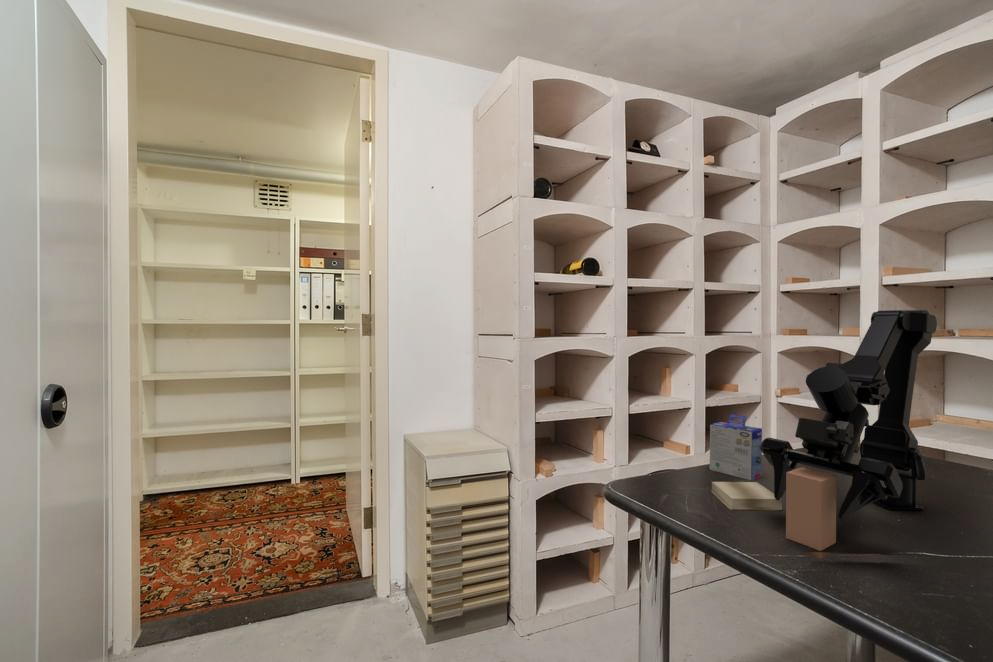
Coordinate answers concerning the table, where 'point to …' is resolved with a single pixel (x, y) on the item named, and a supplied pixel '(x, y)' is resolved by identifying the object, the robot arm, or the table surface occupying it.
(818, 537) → the column
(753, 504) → the top slab
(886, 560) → the table surface
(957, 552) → the table surface
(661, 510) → the table surface
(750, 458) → the ink cartridge box
